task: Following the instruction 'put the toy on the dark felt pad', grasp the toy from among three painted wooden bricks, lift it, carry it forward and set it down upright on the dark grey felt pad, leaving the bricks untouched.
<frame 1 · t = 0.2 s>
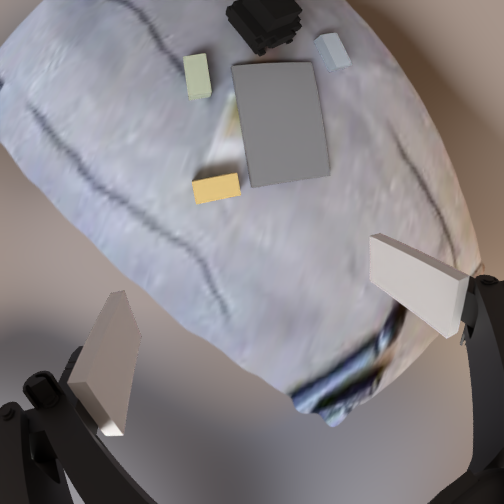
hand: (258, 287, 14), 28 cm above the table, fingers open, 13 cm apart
dusty blue brick: (328, 55, 36), on the table
sage brick: (196, 80, 34), on the table
felt pad: (281, 121, 38), on the table
mustard brick: (214, 186, 39), on the table
toy: (248, 18, 32), on the table
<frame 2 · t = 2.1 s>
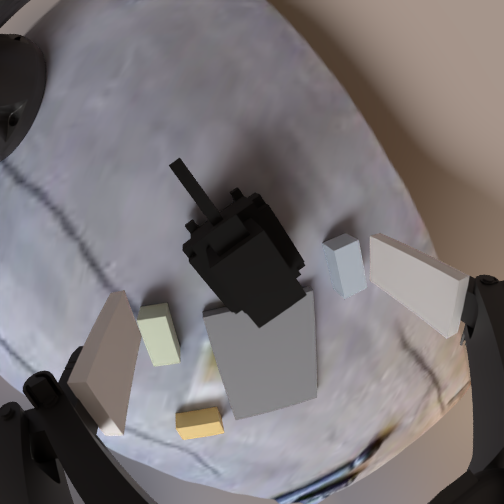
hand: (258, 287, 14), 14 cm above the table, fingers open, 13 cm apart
dusty blue brick: (338, 261, 32), on the table
sage brick: (160, 327, 30), on the table
felt pad: (267, 360, 34), on the table
mustard brick: (198, 415, 35), on the table
toy: (222, 221, 27), on the table
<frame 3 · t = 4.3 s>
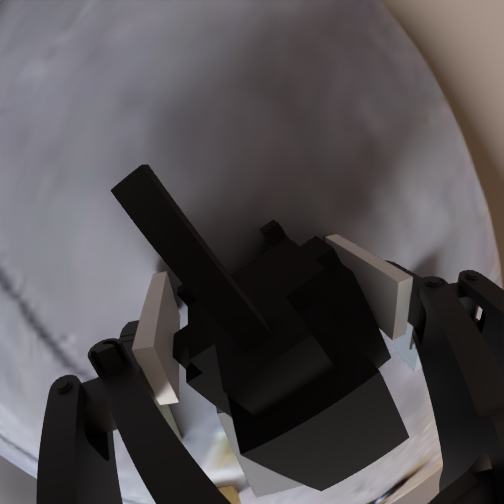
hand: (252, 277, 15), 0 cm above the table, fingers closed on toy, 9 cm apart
dusty blue brick: (410, 316, 20), on the table
sage brick: (154, 417, 18), on the table
felt pad: (302, 441, 22), on the table
mustard brick: (210, 492, 23), on the table
toy: (244, 277, 16), on the table, touching gripper
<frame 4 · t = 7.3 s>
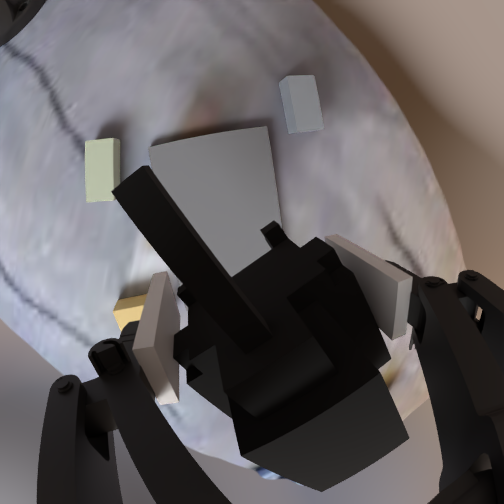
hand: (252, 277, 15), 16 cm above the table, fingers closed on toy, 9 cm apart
dusty blue brick: (295, 107, 28), on the table
sage brick: (107, 169, 26), on the table
felt pad: (222, 219, 30), on the table
mustard brick: (145, 305, 31), on the table
toy: (244, 277, 16), point 15 cm above the table, touching gripper
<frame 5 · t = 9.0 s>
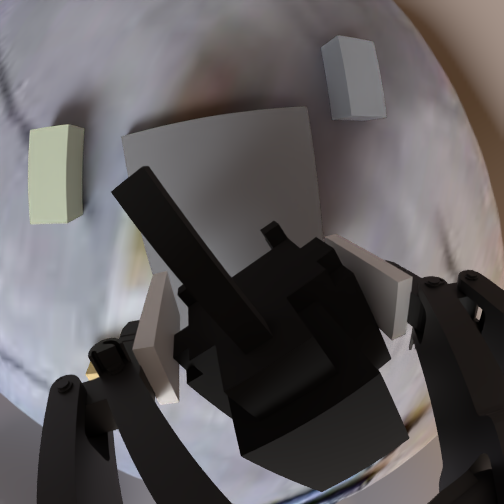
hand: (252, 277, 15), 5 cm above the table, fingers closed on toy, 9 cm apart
dusty blue brick: (342, 84, 18), on the table
sage brick: (65, 172, 16), on the table
felt pad: (236, 247, 20), on the table
toy: (244, 277, 16), point 5 cm above the table, touching gripper
when the fingers open (3 cm above the table, at t = 10.4 s): toy drops 1 cm, resting on felt pad.
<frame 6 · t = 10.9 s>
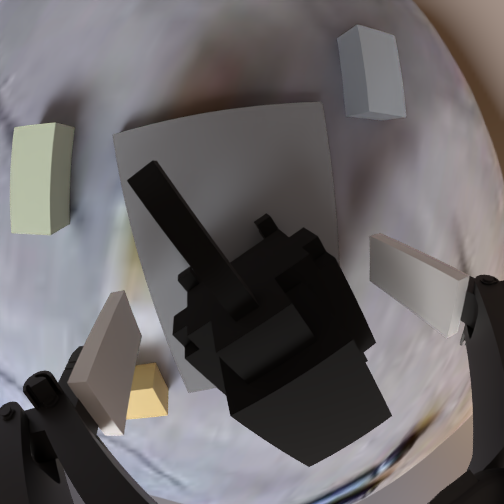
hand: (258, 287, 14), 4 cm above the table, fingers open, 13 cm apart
dusty blue brick: (358, 79, 16), on the table
sage brick: (52, 176, 14), on the table
felt pad: (243, 259, 18), on the table
mustard brick: (127, 380, 19), on the table
toy: (239, 266, 17), point 1 cm above the table, touching felt pad
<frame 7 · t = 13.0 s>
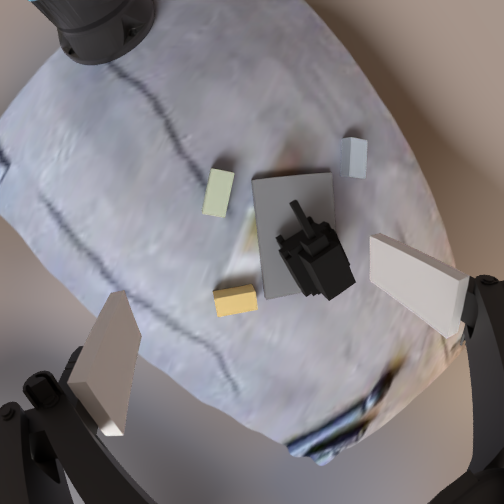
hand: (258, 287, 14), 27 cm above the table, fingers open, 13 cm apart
dusty blue brick: (348, 158, 41), on the table
sage brick: (216, 191, 39), on the table
felt pad: (296, 235, 43), on the table
mustard brick: (233, 296, 44), on the table
toy: (296, 237, 42), point 1 cm above the table, touching felt pad
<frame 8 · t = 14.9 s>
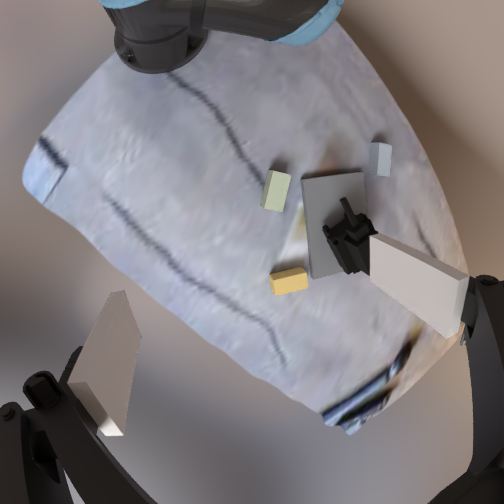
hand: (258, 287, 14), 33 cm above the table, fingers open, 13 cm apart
dusty blue brick: (375, 159, 48), on the table
sage brick: (272, 189, 46), on the table
felt pad: (336, 224, 50), on the table
mustard brick: (285, 277, 52), on the table
toy: (337, 226, 49), point 1 cm above the table, touching felt pad
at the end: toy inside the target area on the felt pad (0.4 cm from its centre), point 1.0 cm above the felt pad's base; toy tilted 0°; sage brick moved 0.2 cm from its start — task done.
